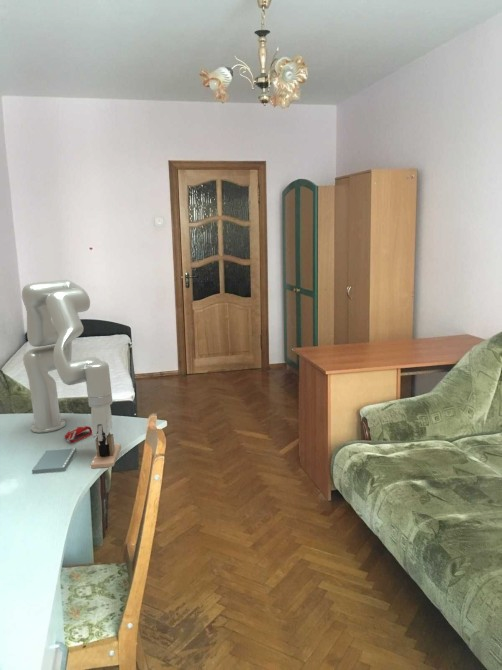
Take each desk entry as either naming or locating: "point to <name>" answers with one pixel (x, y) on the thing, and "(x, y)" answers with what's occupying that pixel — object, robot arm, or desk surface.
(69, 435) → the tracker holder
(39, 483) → the desk surface
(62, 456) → the board
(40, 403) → the robot arm
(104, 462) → the stub
